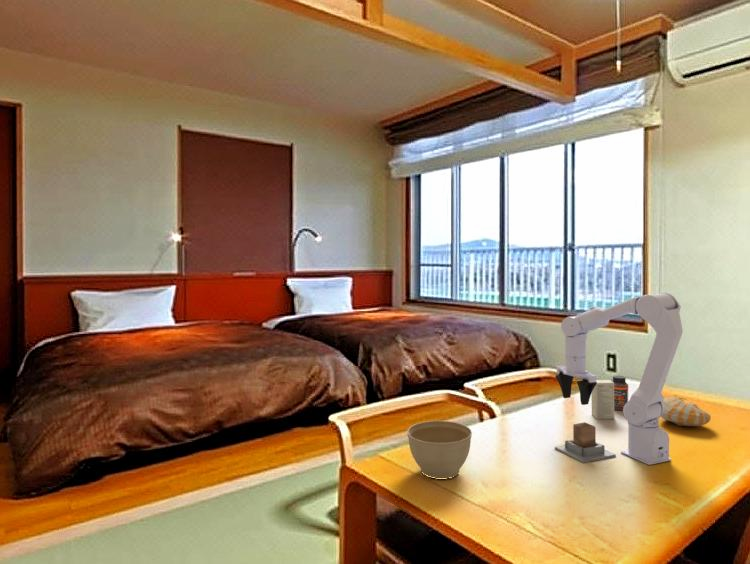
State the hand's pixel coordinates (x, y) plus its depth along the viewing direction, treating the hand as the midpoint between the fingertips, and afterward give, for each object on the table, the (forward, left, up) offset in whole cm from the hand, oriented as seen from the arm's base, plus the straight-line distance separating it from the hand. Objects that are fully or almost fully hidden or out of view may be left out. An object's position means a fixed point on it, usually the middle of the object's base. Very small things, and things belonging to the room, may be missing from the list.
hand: (575, 400), depth 157 cm
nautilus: (-4, -39, -11) cm, 41 cm away
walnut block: (-12, +8, -10) cm, 17 cm away
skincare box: (+10, -20, -11) cm, 25 cm away
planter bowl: (-8, +50, -11) cm, 52 cm away
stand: (-12, +8, -10) cm, 18 cm away
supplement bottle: (+15, -32, -11) cm, 37 cm away
